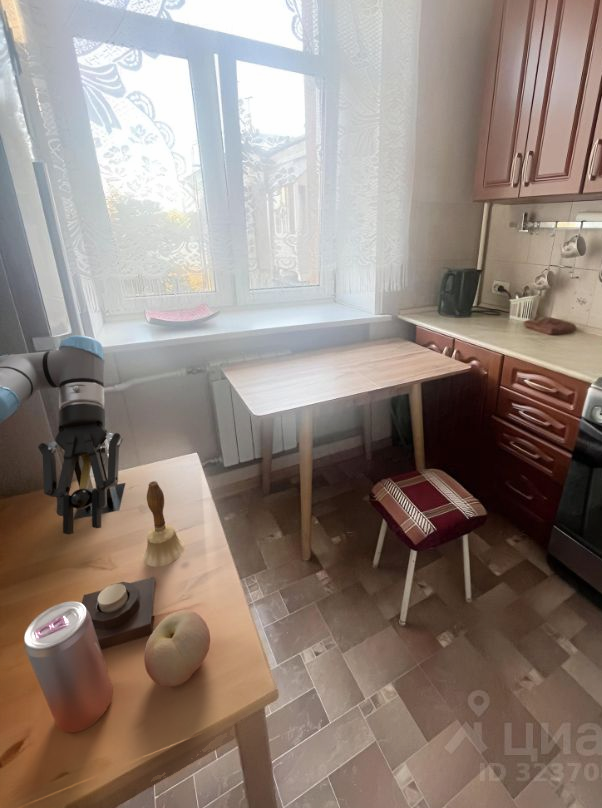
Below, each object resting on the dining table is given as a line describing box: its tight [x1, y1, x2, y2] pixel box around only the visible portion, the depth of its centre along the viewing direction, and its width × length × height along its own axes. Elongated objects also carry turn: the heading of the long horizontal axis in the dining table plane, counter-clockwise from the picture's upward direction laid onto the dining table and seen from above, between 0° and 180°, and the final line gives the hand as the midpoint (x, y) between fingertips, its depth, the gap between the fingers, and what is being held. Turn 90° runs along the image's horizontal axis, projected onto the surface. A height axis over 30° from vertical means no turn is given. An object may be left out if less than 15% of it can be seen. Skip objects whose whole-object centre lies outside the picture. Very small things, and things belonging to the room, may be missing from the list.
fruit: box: [143, 609, 211, 688], centre depth 53 cm, size 8×8×8 cm
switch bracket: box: [73, 441, 126, 521], centre depth 81 cm, size 10×8×15 cm
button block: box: [80, 576, 157, 651], centre depth 59 cm, size 10×9×4 cm
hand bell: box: [142, 480, 185, 567], centre depth 69 cm, size 8×8×16 cm
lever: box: [70, 454, 92, 510], centre depth 75 cm, size 14×4×4 cm, turn 22°
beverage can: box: [23, 601, 114, 733], centre depth 46 cm, size 6×6×15 cm
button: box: [98, 583, 128, 613], centre depth 58 cm, size 4×4×2 cm
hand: (82, 530), depth 70 cm, fingers closed on lever, 4 cm apart
